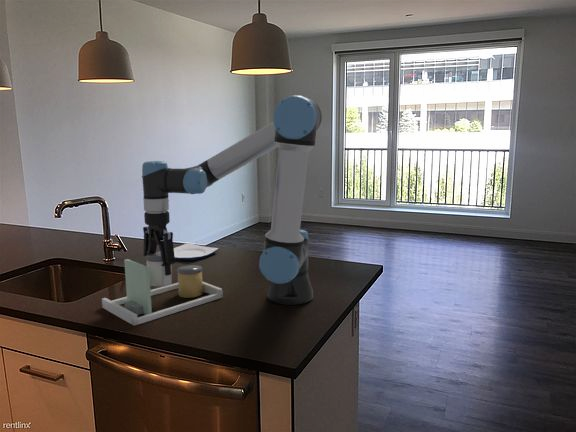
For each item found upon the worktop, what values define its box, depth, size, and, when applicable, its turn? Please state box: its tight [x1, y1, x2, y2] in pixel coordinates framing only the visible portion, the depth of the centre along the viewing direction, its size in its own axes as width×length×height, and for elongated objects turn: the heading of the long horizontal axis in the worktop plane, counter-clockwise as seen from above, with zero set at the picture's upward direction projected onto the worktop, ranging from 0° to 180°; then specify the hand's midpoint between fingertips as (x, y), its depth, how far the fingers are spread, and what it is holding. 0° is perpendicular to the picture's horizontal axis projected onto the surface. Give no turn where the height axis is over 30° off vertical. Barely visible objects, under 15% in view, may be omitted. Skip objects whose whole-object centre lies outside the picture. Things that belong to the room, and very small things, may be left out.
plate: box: [174, 242, 220, 262], centre depth 212 cm, size 20×20×3 cm
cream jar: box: [145, 251, 173, 287], centre depth 153 cm, size 8×8×9 cm
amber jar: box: [176, 264, 204, 299], centre depth 162 cm, size 8×8×9 cm
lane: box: [101, 280, 224, 326], centre depth 155 cm, size 20×32×3 cm, turn 136°
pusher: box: [123, 258, 153, 316], centre depth 147 cm, size 13×4×15 cm, turn 46°
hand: (159, 281), depth 154 cm, fingers closed on cream jar, 7 cm apart
